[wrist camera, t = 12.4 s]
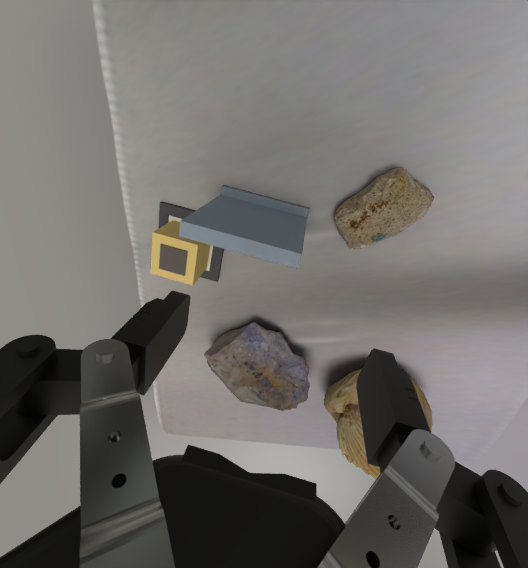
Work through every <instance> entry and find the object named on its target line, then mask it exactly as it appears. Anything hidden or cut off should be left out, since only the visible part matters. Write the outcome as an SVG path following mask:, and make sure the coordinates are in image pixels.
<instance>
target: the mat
mask: <svg viewBox="0 0 528 568" xmlns="http://www.w3.org/2000/svg"><path fill="white" fill-rule="evenodd" d="M193 212H195V210H191V209H187V208H184V207H180V206H176V205H172V204H169V203H165V202H160V212H159V228H161V227H162V226H164V225H166V224H167V223H169V222H171V221H172V220H175V221H179V222H180V221H181V220H182V219H184V218H186V217H187V216H189V215H190V214H192V213H193ZM223 250H224V249H223V248H220V247H216V246H212V245H211V247H210V253H209V260H208V266H207V269H206V270H205V271H204V272H203V273H202V275H201V276H200V277H202V278H206V279H209V280H213V281H216V282H218V280H219V274H220V268H221V262H222V256H223Z"/></svg>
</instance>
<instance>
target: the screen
mask: <svg viewBox="0 0 528 568" xmlns="http://www.w3.org/2000/svg"><path fill="white" fill-rule="evenodd" d="M308 212H309V208H307V207H303V206H300V205H296V204H292V203H288V202H285V201H281V200H277V199H273V198H270V197H266V196H262V195H258V194H255V193H251V192H247V191H244V190H240V189H236V188H232V187H229V186H225V185H223V186H222V188H221V195H220V196H218V197H217V198H215V199H214V200H212V201H210V202H209V203H207V204H206V205H204V206H203V207H201V208H200V209H198V210H196V211H195V212H193V213H192V214H190V215H189V216H187V217H186V218H184V219H182V220H181V221H180V231H179V236H180V237H183V238H187V239H191V240H194V241H198V242H201V243H205V244H209V245H212V246H216V247H220V248H223V249H227V250H230V251H234V252H238V253H241V254H245V255H249V256H252V257H256V258H259V259H263V260H267V261H270V262H274V263H277V264H281V265H285V266H288V267H292V268H296V269H297V268H298V265H299V262H300V258H301V255H302V249H303V242H304V234H305V227H306V219H307V215H308Z"/></svg>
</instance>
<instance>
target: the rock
mask: <svg viewBox="0 0 528 568" xmlns="http://www.w3.org/2000/svg"><path fill="white" fill-rule="evenodd" d="M433 199H434V196H433V195H432V193H431V191H430V190H429V189H428V188H427V187H426V186H424V185H422V184H420V183H419V182H418V181H417V180H414V179H412V178H411V177H410V175H409V173H408V172H407V171H406V170H405V169H404V168H402V167H397V168H394V169H392V170H390V171H388V172H386V173H385V174H384V175H381V176H378V177H376V179H375V180H374V181H373V182H372V183H371V184H370V185H368V186H367V187H366V188H364V189H363V190H362V191H360V192H359V193H358V194H355V195H354V196H352V197H350V198H349V199H348V200H346V201H345V202H343V203H342V205H341V206H340V207H339V208H338V209H337V211H336V212H335V213H334V219H335V221H336V224H337V228H338V230H339V233H340V235H341V236H342V238H343V239H344V240H345V241H346V242H347V244H348V246H349V248H354V249H359V248H360V249H363V248H365V247H367V246H369V245H372V244H374V243H377V242H379V241H381V240H383V239H386V238H389V237H391V236H394V235H396V234H398V233H399V232H400V231H402V230H403V229H404V228H405V227H408V226H409V225H411V224H412V223H414V222H415V221H417V220H419V219H421V218H422V217H424V215H425V214H426V213H427V212H428V210H429V208H430V206H431V204H432V201H433Z"/></svg>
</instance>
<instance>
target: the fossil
mask: <svg viewBox="0 0 528 568" xmlns="http://www.w3.org/2000/svg"><path fill="white" fill-rule="evenodd" d="M360 371H361V369H359V370H356V371H353V372H351V373H349V374H348V375H346V376H345V377H344V378H343V379H341V380H340V381H338V382H336V383H335V384H333V385H332V386H330V387H329V388H328V389H327V392H326V394H325V399H324V405H325V408H326V409H327V410H328V411H329V413H330V414H331V415H332V416H333V418H334V419H335V421H336V422H337V439H338V442H339V447H340V449H341V452H342V455H345V456H346V458H347V460H348V461H349V462H350V463H351V462H353V464H354V465H355V466H356V467H360V468H362V470H363V471H364V472H365V473H367V474H369V475H371V476H372V477H374V478H375V479H377V478H378V476H379V475H380V468H379V467H378V466H374V465H371V464H368V463H367V456H366V450H365V443H364V436H363V430H362V423H361V416H360V409H359V403H358V396H357V389H356V384H357V379H358V376H359V373H360ZM409 377H410V376H409ZM410 379H411V378H410ZM411 380H412V379H411ZM412 383H413V385H414V388H415V393H417V396H418V399H419V402H420V404H421V406H422V409H423V412H424V414H425V417H426V420H427V422H428V425H429V428H430V430H431V428H432V411H431V409H430V406H429V404H428V402H427V399H426V397H425V395H424V393H423V392H422V390H421V389H420V387H419V386H418V385H417V384H416V383H415V382H414V381H412Z"/></svg>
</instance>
